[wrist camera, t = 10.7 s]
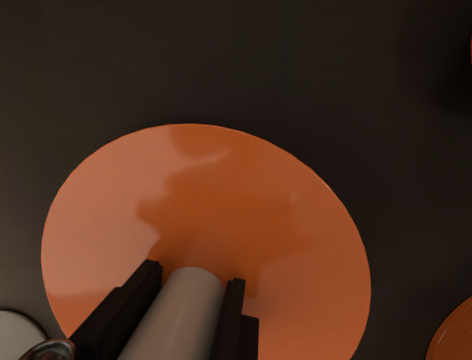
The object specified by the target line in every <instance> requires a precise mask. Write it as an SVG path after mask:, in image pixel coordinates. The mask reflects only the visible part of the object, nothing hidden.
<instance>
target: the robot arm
mask: <svg viewBox="0 0 472 360" xmlns="http://www.w3.org/2000/svg"><path fill="white" fill-rule="evenodd" d="M162 273H163V266H161V265H160V263H159V261H154V260H150V259H145V260H144V261H143V262H142V264H141V265H140V266H139V267H138V268H137V269H136V270H135V272H134V273H133V274H132V275H131V276H130V277H129V278H128V280H127V281H126V282H125V283H124V284H123V285H122V286H121V287H115V288H114V289H113V290H112V291H111V292H110V293H109V294H108V295H107V296H106V297H105V298H104V300H103V301H102V302H101V303H100V304H99V305H98V306H97V307H96V308H95V309H94V311H93V312H92V313H91V314H90V315H89V316H88V317H87V318H86V319H85V320H84V322H83V323H82V324H81V325H80V326H79V327H78V328H77V329H76V330H75V332H74V333H73V334H72V335H71V336H70V337H69V338H68V339H65V338H54V339H49V340H46V341H43V342H41V343H38V344H37V345H35V346H33V347H32V348H30V349H29V350H28V351H27V352H25V353H24V354H23V355H22V356H21V357H20V358H19V359H18V360H116V358H117V357H118V355H119V353H120V352H121V350H122V349H123V347H124V346H125V344H126V342H127V341H128V339H129V338H130V336H131V334H132V333H133V331H134V330H135V328H136V326H137V325H138V323H139V322H140V320H141V318H142V317H143V315H144V314H145V312H146V311H147V309H148V307H149V306H150V304H151V303H152V301H153V299H154V298H155V296H156V295H157V293H158V291H159V290H160V288H161V283H162ZM245 284H246V280H244V279H239V278H233V281H231V280H228V282H227V286H226V290H225V294H224V298H223V302H222V306H221V311H220V315H219V319H218V323H217V327H216V331H215V335H214V339H213V344H212V348H211V352H210V356H209V360H258V343H259V318H256V317H252V316H248V315H243V314H242V308H243V300H244V292H245Z"/></svg>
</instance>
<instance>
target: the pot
mask: <svg viewBox="0 0 472 360" xmlns="http://www.w3.org/2000/svg"><path fill="white" fill-rule="evenodd" d="M425 360H472V296H471V297H469V298H468V299H466V300H465V301H464V302H463V303H462V304H460V305H459V306H458V307H457V308H455V309H454V310H453V311H452V312H451V313H450V314H449V316H448V317H447V318H446V319H445V320H444V321H443V323H442V324H441V325H440V327H439V328H438V329H437V331H436V333H435V334H434V336H433V338H432V340H431V342H430V345H429V348H428V350H427V354H426V359H425Z"/></svg>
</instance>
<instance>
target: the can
mask: <svg viewBox="0 0 472 360" xmlns="http://www.w3.org/2000/svg"><path fill="white" fill-rule="evenodd" d="M46 340H48V339H47V337H46V335H45V334H44V332H43V331H42V330H41V328H40V327H39V326H38V325H37V324H36V323H34V322H33V321H32V320H30V319H29V318H27V317H26V316H24V315H22V314H19V313H16V312H13V311H6V310H1V311H0V360H18V359H19V358H20V357H21V356H22V355H23V354H24V353H25V352H27V351H28V350H29V349H30V348H32V347H33V346H35V345H37V344H38V343H41V342H43V341H46Z"/></svg>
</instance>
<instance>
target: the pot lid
mask: <svg viewBox="0 0 472 360" xmlns="http://www.w3.org/2000/svg"><path fill="white" fill-rule="evenodd" d="M145 259H150V260H154V261H159V263H160V265H161V266H163V273H162V283H161V288H160V290H159V291H158V293H157V295H156V296H155V298H154V299H153V301H152V303H151V304H150V306H149V307H148V309H147V311H146V312H145V314H144V315H143V317H142V318H141V320H140V322H139V323H138V325H137V326H136V328H135V330H134V331H133V333H132V334H131V336H130V338H129V339H128V341H127V342H126V344H125V346H124V347H123V349H122V350H121V352H120V353H119V355H118V357H117V358H116V360H209V356H210V352H211V348H212V344H213V339H214V335H215V331H216V327H217V323H218V319H219V315H220V311H221V306H222V302H223V298H224V294H225V290H226V286H227V282H228V280H231V281H233V278H239V279H244V280H246V284H245V292H244V300H243V308H242V314H243V315H248V316H252V317H256V318H259V343H258V360H350V359H351V357H352V356H353V354H354V352H355V351H356V349H357V347H358V345H359V342H360V340H361V338H362V336H363V333H364V330H365V327H366V323H367V319H368V315H369V309H370V299H371V281H370V268H369V264H368V260H367V255H366V251H365V247H364V244H363V242H362V239H361V237H360V234H359V232H358V229H357V227H356V225H355V223H354V221H353V220H352V218H351V216H350V214H349V213H348V211H347V209H346V207H345V206H344V204H343V203H342V202H341V201H340V199H339V198H338V197H337V195H336V194H335V193H334V192H333V190H332V189H331V188H330V187H329V185H328V184H327V183H326V182H325V181H323V180H322V179H321V178H320V177H319V176H318V175H317V174H316V173H315V172H314V171H313V170H312V169H311V168H310V167H309V166H308V165H306V164H305V163H304V162H302V161H301V160H299V159H298V158H297V157H295V156H294V155H293V154H291V153H290V152H288V151H286V150H285V149H283V148H281V147H279V146H277V145H275V144H274V143H272V142H270V141H268V140H266V139H263V138H261V137H258V136H255V135H253V134H250V133H247V132H245V131H241V130H237V129H233V128H229V127H224V126H220V125H210V124H200V123H186V124H166V125H161V126H155V127H150V128H144V129H142V130H139V131H136V132H133V133H130V134H127V135H124V136H121V137H119V138H118V139H116V140H114V141H112V142H110V143H108V144H106V145H104V146H102V147H101V148H100V149H98V150H97V151H95V152H94V153H93V154H91V155H90V156H89V157H87V158H86V159H85V160H84V161H83V162H82V163H81V164H80V165H79V166H78V167H77V168H76V169H75V170H74V171H73V172H72V173H71V174H70V175H69V177H68V178H67V179H66V181H65V182H64V184H63V185H62V186H61V188H60V189H59V191H58V193H57V195H56V197H55V199H54V201H53V203H52V205H51V207H50V210H49V213H48V216H47V219H46V222H45V225H44V231H43V236H42V242H41V266H42V276H43V281H44V286H45V290H46V294H47V298H48V300H49V303H50V306H51V308H52V311H53V314H54V316H55V317H56V319H57V321H58V323H59V325H60V327H61V329H62V331H63V332H64V334H65V335H66V337H67V338H69V337H70V336H71V335H72V334H73V333H74V332H75V330H76V329H77V328H78V327H79V326H80V325H81V324H82V323H83V322H84V320H85V319H86V318H87V317H88V316H89V315H90V314H91V313H92V312H93V311H94V309H95V308H96V307H97V306H98V305H99V304H100V303H101V302H102V301H103V300H104V298H105V297H106V296H107V295H108V294H109V293H110V292H111V291H112V290H113V289H114V288H115V287H121V286H122V285H123V284H124V283H125V282H126V281H127V280H128V278H129V277H130V276H131V275H132V274H133V273H134V272H135V270H136V269H137V268H138V267H139V266H140V265H141V264H142V262H143V261H144V260H145Z"/></svg>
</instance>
